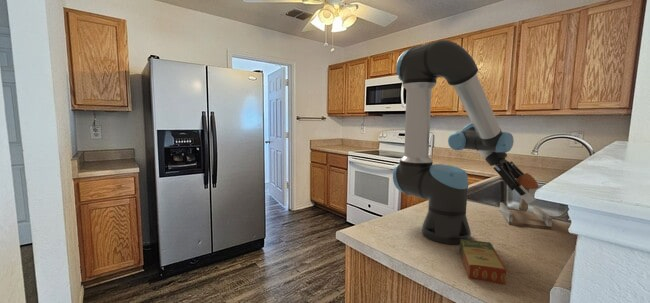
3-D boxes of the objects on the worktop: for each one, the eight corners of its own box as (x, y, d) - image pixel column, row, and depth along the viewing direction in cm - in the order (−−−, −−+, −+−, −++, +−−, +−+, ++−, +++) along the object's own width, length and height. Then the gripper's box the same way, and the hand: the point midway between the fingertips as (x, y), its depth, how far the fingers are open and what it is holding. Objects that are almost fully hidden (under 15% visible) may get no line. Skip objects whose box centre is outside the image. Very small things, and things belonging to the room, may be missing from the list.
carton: (467, 279, 69) (468, 263, 69) (458, 251, 85) (459, 237, 84) (506, 285, 67) (507, 268, 66) (490, 255, 82) (490, 241, 81)
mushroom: (530, 208, 113) (534, 171, 111) (540, 214, 105) (544, 175, 103) (508, 206, 115) (511, 170, 113) (516, 213, 107) (519, 174, 105)
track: (508, 224, 105) (509, 214, 104) (499, 211, 120) (500, 202, 119) (551, 229, 100) (552, 218, 100) (535, 215, 115) (536, 205, 115)
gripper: (495, 157, 126) (535, 200, 115) (473, 161, 114) (516, 210, 103) (510, 146, 121) (553, 190, 110) (488, 149, 109) (534, 199, 98)
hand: (535, 199), depth 107 cm, fingers closed on mushroom, 8 cm apart
